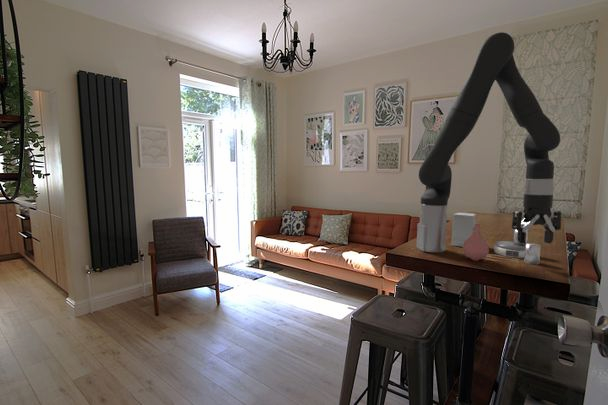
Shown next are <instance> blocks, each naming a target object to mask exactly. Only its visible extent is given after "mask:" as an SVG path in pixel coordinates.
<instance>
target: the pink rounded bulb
mask: <svg viewBox="0 0 608 405" xmlns="http://www.w3.org/2000/svg"><path fill="white" fill-rule="evenodd" d="M480 226H481V225H480V224H478V223H476V224H475V227H474V232H473V234H472V235H471V237H470V238H468V239H467V240H466V241H465V242H464V245H463V247H462V251H463V255H464V256H465V257H467V258H469V259H470V260H471V261H475V262H478V261H479V260H483V259H486V258H487V256H488V254H489V252H490V250H489V244H488V243H487V241H486V240H485V239H484V238H483V236H482V234H481V232H480V231H481V230H480V229H481V227H480Z"/></svg>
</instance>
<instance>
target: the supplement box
mask: <svg viewBox="0 0 608 405" xmlns="http://www.w3.org/2000/svg"><path fill="white" fill-rule="evenodd" d="M452 216H453V217H452V226H451V227H452V229H451V246H456V247H461V248H463V245H464V242H465V241H466V240H467V239H468V238H470V237H471V235H472V234H473V232H474V227H475V224H477V214H476V213H468V212H467V213H466V212H456V213H454V214H453V215H452Z"/></svg>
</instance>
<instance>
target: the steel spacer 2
mask: <svg viewBox="0 0 608 405" xmlns="http://www.w3.org/2000/svg"><path fill="white" fill-rule="evenodd" d="M541 248H542V247H541V245H540V244H538V243H533V242H527V243H526V246H525V257H524V258H523V260H524V261H523V262H524V263H526V264H529V265H539V264H540V261H541V260H540V258H541Z"/></svg>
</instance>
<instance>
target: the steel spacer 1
mask: <svg viewBox="0 0 608 405" xmlns="http://www.w3.org/2000/svg"><path fill="white" fill-rule="evenodd" d="M528 236H529V228H528V229H527V230H526V243H528ZM513 242H514V243H513V244H514V245H518V246H526V243H525V244H522V243H519V241H518V231H517V230H515V229H514V232H513Z"/></svg>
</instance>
